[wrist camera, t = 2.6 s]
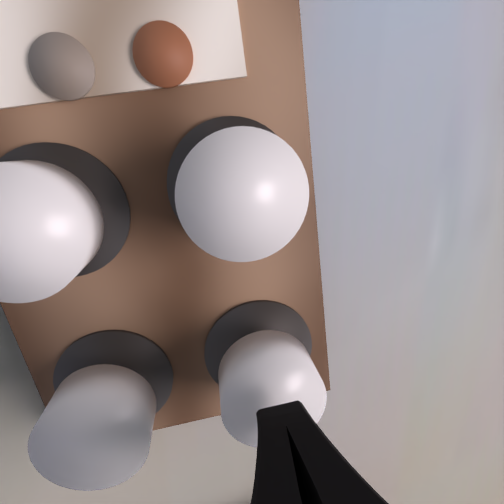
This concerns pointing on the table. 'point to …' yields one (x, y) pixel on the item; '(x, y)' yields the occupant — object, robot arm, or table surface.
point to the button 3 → (241, 194)
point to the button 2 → (94, 428)
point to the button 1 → (44, 229)
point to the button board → (157, 184)
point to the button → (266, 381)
